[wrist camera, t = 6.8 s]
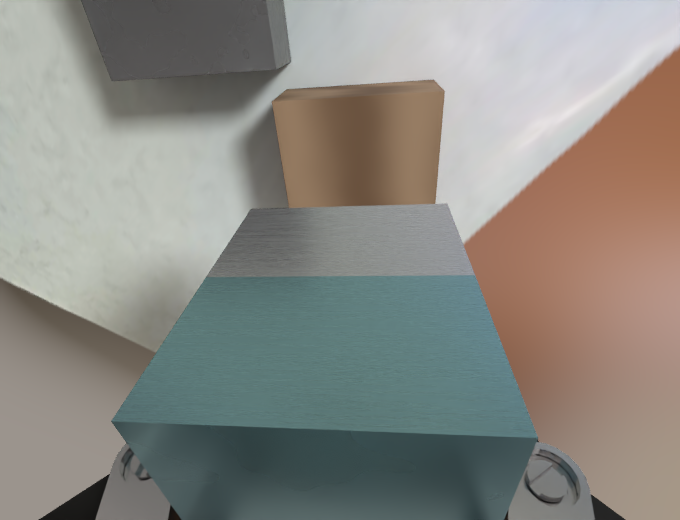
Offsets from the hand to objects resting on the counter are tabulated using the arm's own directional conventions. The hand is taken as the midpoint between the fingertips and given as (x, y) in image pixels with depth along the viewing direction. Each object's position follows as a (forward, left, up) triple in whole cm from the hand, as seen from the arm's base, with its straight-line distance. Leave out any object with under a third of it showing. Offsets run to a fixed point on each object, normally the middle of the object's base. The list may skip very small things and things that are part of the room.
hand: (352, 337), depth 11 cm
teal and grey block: (0, 0, -1) cm, 1 cm away
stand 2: (0, 0, -17) cm, 17 cm away
